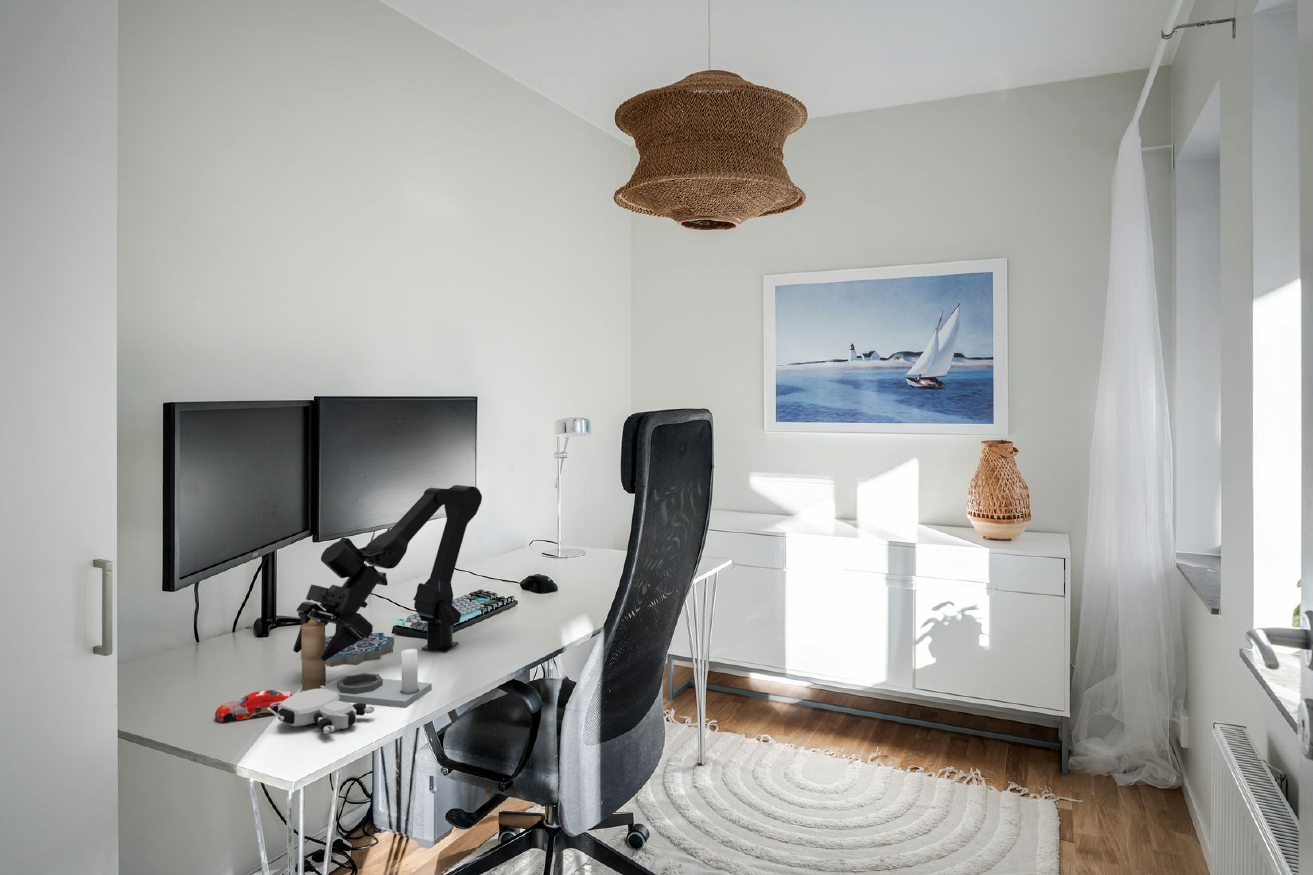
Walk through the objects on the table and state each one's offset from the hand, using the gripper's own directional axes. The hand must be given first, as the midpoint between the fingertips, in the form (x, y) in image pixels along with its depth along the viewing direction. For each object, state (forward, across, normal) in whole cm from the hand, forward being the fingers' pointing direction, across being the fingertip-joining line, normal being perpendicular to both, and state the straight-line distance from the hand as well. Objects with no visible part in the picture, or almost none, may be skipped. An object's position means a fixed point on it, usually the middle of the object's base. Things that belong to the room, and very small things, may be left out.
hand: (308, 655), depth 157 cm
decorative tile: (-8, -14, +19) cm, 25 cm away
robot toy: (+11, +17, -1) cm, 21 cm away
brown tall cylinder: (+4, 0, +6) cm, 7 cm away
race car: (+14, +3, -4) cm, 15 cm away
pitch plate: (+1, +13, +9) cm, 16 cm away
